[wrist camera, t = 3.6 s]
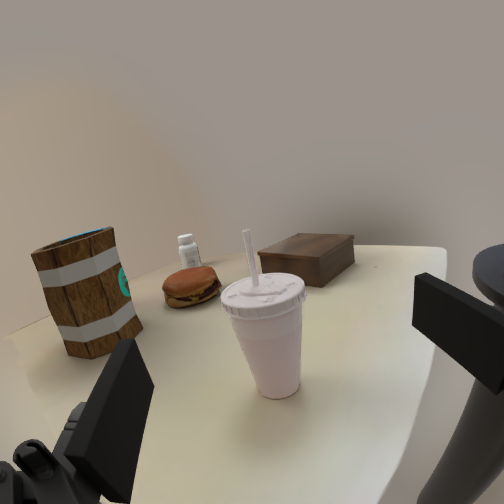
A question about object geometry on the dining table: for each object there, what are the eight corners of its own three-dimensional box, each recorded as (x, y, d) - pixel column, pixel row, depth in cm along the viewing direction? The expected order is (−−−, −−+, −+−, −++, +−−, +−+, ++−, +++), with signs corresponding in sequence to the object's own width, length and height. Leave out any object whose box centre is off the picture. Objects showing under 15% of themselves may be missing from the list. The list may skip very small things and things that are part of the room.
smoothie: (273, 357, 28) (249, 221, 25) (328, 374, 24) (314, 219, 20) (229, 392, 24) (188, 242, 20) (285, 420, 19) (255, 245, 16)
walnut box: (356, 261, 51) (354, 234, 49) (322, 288, 42) (318, 256, 41) (301, 256, 59) (298, 233, 58) (261, 278, 51) (257, 251, 50)
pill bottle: (205, 265, 66) (198, 232, 64) (193, 271, 62) (185, 237, 60) (191, 264, 68) (184, 233, 66) (179, 271, 65) (171, 238, 63)
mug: (136, 352, 33) (97, 236, 29) (53, 363, 31) (13, 261, 27) (153, 296, 51) (132, 217, 48) (91, 309, 49) (68, 235, 46)
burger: (156, 304, 47) (148, 279, 46) (193, 284, 54) (187, 261, 53) (194, 314, 41) (187, 285, 40) (233, 289, 49) (228, 263, 47)
